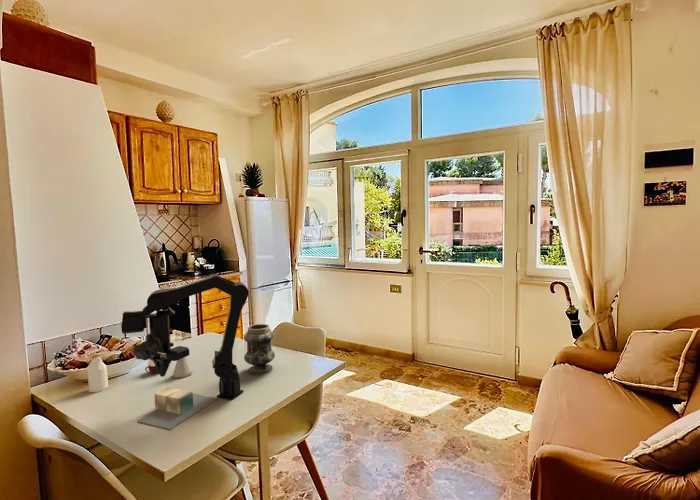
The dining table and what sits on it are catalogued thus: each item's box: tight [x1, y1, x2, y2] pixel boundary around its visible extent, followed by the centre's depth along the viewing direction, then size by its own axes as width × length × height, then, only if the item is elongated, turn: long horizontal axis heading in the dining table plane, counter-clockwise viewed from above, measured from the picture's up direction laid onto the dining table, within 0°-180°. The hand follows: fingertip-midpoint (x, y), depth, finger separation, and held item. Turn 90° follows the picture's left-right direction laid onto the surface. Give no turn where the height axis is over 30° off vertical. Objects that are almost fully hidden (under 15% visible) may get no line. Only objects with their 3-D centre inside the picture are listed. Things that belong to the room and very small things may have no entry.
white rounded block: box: [86, 356, 109, 393], centre depth 138 cm, size 6×12×6 cm
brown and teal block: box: [154, 386, 194, 414], centre depth 122 cm, size 5×5×11 cm
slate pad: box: [136, 393, 219, 431], centre depth 122 cm, size 14×20×1 cm
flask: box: [171, 356, 194, 379], centre depth 149 cm, size 7×7×10 cm
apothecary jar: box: [243, 323, 276, 375], centre depth 152 cm, size 12×12×18 cm
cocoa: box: [144, 359, 159, 375], centre depth 153 cm, size 10×6×12 cm, turn 119°
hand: (162, 376), depth 123 cm, fingers closed
